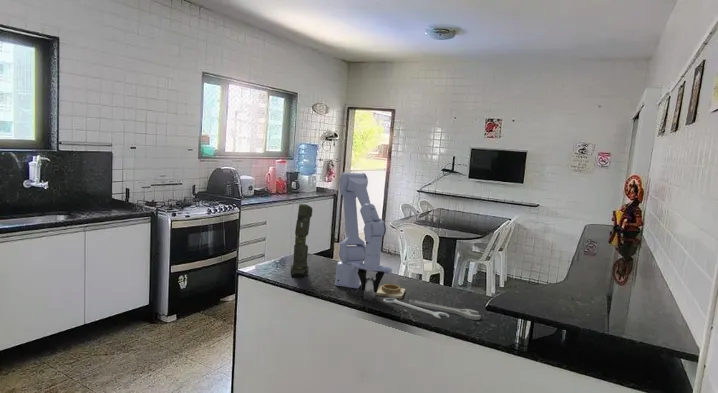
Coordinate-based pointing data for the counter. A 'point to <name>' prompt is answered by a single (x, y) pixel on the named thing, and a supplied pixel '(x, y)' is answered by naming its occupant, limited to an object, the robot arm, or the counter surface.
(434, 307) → the adjustable wrench
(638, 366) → the counter surface
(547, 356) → the counter surface
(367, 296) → the clear glass cylinder
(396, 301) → the wrench
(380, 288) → the socket
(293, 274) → the mechanical leg
